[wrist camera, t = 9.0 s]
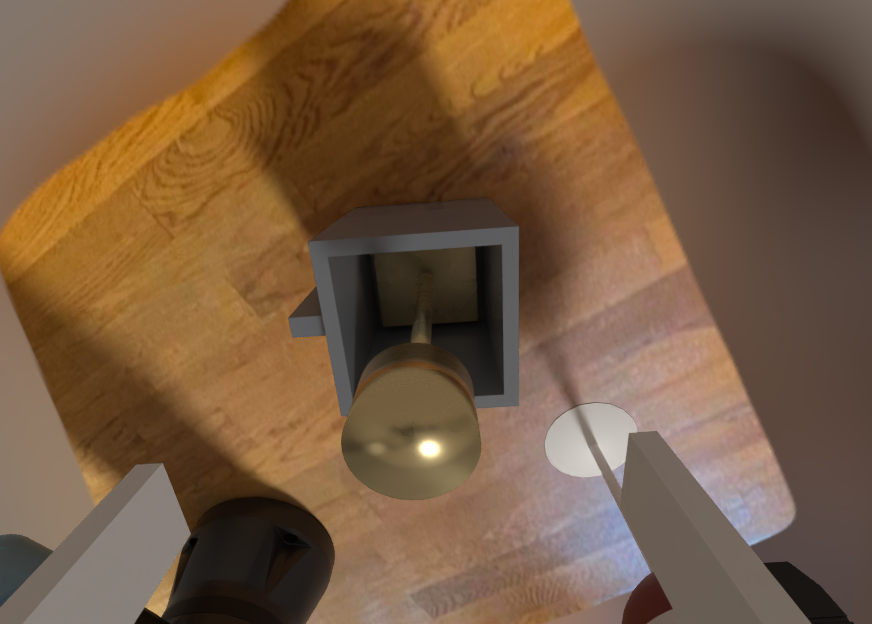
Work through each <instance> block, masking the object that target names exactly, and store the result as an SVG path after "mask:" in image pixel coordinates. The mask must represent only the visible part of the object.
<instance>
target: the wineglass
mask: <svg viewBox="0 0 872 624" xmlns="http://www.w3.org/2000/svg"><path fill="white" fill-rule="evenodd" d="M635 432H637V427H636V425H635V423H634V421H633V419H632V417H631V416H629V415H628V414H627V413H626V412H625V411H624V410H623V409H621V408H618V407H616V406H614V405H611V404H604V403H591V404H584V405H580V406H577V407H575V408H573V409H570V410H568V411H566V412H565V413H564V414H562V415H561V416H560V417H559V418H557V419H556V420H555V421H554V423H553V424H552V426H551V427H550V429H549V430H548V432H547V436H546V439H545V451H546V455H547V457H548V459H549V460H550V462H551V464H552V465H553V466H555V467H556V468H557V469H558V470H560V471H561V472H563V473H566V474H569V475H571V476H577V477H593V476H600V475H603V477H604V479H605V481H606V483H607V485H608V487H609V489H610V491H611V493H612V495H613V497H614V499H615V501H616V503H617V505H618V507H619V509H620V503H621V494H622V489H621V487H620V485H619V483H618V481H617V479H616V478H615V476H614V474H613V472H612V471H613V470H614V469H616V468H617V467H619V466H620V465H621V464H623V463H624V462H625V461H626V452H627V444H628V436H629V433H635ZM620 511H621V509H620ZM621 513H622V511H621ZM622 515H623V513H622ZM623 517H624V515H623ZM624 519H625V517H624ZM625 521H626V519H625ZM626 523H627V521H626ZM627 525H628V527H629V529H630V531H631V533H632V535H633V537H634V539H635V541H636V543H637V545H638V547H639V549H640V551H641V553H642V555H643V557H644V559H645V561H646V563H647V565H648V567H649V569H650V571H651V572H652V573H650V574H649V575H648V576H646V577H645V578H644V579H643V580H642V581H641V582H640V583H639V584H638V585H637V587H636V588H635V589H634V591H633V592H632V594H631V596H630V598H629V600H628V602H627V604H626V606H625V609H624V613H623V620H622V624H681V623H680V621H679V619H678V617H677V616H676V614H675V612H674V610H673V608H672V606H671V604H670V602H669V600H668V598H667V597H666V595H665V593H664V591H663V589H662V587H661V585H660V583H659V581H658V579H657V578H656V576H655V574H654V572H653V570H652V568H651V566H650V564H649V562H648V561H647V559H646V557H645V555H644V553H643V551H642V549H641V547H640V545H639V543H638V542H637V540H636V538H635V536H634V534H633V532H632V530H631V528H630V526H629V524H628V523H627Z"/></svg>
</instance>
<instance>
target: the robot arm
mask: <svg viewBox="0 0 872 624" xmlns="http://www.w3.org/2000/svg"><path fill="white" fill-rule="evenodd" d="M620 509H621V511H622V513H623V515H624V517H625V519H626V521H627V523H628V524H629V526H630V528H631V530H632V532H633V534H634V536H635V538H636V540H637V542H638V543H639V545H640V547H641V549H642V551H643V553H644V555H645V557H646V559H647V561H648V562H649V564H650V566H651V568H652V570H653V572H654V574H655V576H656V578H657V579H658V581H659V583H660V585H661V587H662V589H663V591H664V593H665V595H666V597H667V598H668V600H669V602H670V604H671V606H672V608H673V610H674V612H675V614H676V616H677V617H678V619H679V621H680V623H681V624H854V623H853V622H850V621H849V620H848V619H847V615H846V614H845V613H844V612H843V611H842V610H841V609H840V607H838V605H837V604H836V603H835V602H834V601H833V600H832V598H831V597H830V596H829V595H828V594H827V593H826V592H825V591H824V590H823V588H822V587H821V586H820V585H818V584H817V583H816V582H814V581H813V580H812V579H810V578H809V577H808V576H806V575H805V574H804V573H802V572H801V571H800V570H798V569H797V568H796V567H794V566H793V565H792V564H790V563H789V562H772V563H762V561H761V560H760V559H759V558H758V556H757V555H756V554H755V553H754V551H753V550H752V549H751V548H750V546H749V545H748V544H747V543H746V541H745V540H744V539H743V538H742V537H741V535H740V534H739V533H738V532H737V530H736V529H735V528H734V527H733V525H732V524H731V523H730V522H729V520H728V519H727V518H726V517H725V515H724V514H723V513H722V512H721V510H720V509H719V508H718V507H717V505H716V504H715V503H714V502H713V500H712V499H711V498H710V497H709V495H708V494H707V493H706V492H705V491H704V489H703V488H702V487H701V486H700V484H699V483H698V482H697V481H696V479H695V478H694V477H693V476H692V474H691V473H690V472H689V471H688V469H687V468H686V467H685V466H684V464H683V463H682V462H681V461H680V459H679V458H678V457H677V456H676V454H675V453H674V452H673V451H672V449H671V448H670V447H669V446H668V445H667V443H666V442H665V441H664V440H663V438H662V437H661V436H660V435H659V433H658V432H657V431H650V432H635V433H629V436H628V444H627V452H626V461H625V469H624V478H623V486H622V494H621V503H620ZM182 547H183V549H182ZM181 549H182V552H181V556H180V560H179V564H178V567H177V571H176V575H175V579H174V583H173V586H172V590H171V594H170V598H169V602H168V606H167V608H166V610H165V612H164V614H163V615H162V617H159V616H158V615H156V614H155V613H153V612H152V611H150V610H148V609H147V608H145V606H146V604H147V603H148V601H149V599H150V598H151V596H152V595H153V593H154V592H155V590H156V588H157V587H158V585H159V584H160V582H161V581H162V579H163V577H164V576H165V574H166V573H167V571H168V570H169V568H170V566H171V565H172V563H173V562H174V560H175V558H176V557H177V555H178V554H179V552H180V551H181ZM334 560H335V551H334V546H333V543H332V541H331V539H330V537H329V535H328V533H327V532H326V530H325V529H324V528H323V527H322V526H321V525H320V524H319V523H318V522H317V521H316V520H315V519H314V518H313V517H311V516H310V515H308V514H307V513H305V512H304V511H302V510H300V509H298V508H296V507H294V506H292V505H289V504H286V503H283V502H280V501H276V500H271V499H265V498H240V499H234V500H230V501H226V502H223V503H221V504H218V505H216V506H214V507H213V508H211V509H209V510H208V511H207V512H206V513H205V514H203V515H202V517H201V518H200V519H199V520H198V522H197V523H196V525H195V527H194V528H193V530H192V531H191V533H190V530H189V528H188V525H187V523H186V520H185V518H184V515H183V513H182V510H181V508H180V505H179V503H178V500H177V498H176V495H175V493H174V490H173V488H172V485H171V483H170V480H169V478H168V475H167V473H166V470H165V468H164V465H163V463H154V464H138V465H135V466H134V467H133V468H132V469H131V471H130V472H129V473H128V474H127V475H126V476H125V477H124V478H123V479H122V480H121V481H120V482H119V483H118V484H117V485H116V486H115V487H114V488H113V489H112V491H111V492H110V493H109V494H108V495H107V496H106V497H105V498H104V499H103V500H102V501H101V502H100V503H99V504H98V505H97V506H96V507H95V508H94V509H93V511H92V512H91V513H90V514H89V515H88V516H87V517H86V518H85V519H84V520H83V521H82V522H81V523H80V524H79V525H78V526H77V527H76V528H75V529H74V530H73V532H72V533H71V534H70V535H69V536H68V537H67V538H66V539H65V540H64V541H63V542H62V543H61V544H60V545H59V546H58V547H57V548H56V549H55V550H54V551H52V550H50V549H48V548H46V547H45V546H43V545H41V544H39V543H37V542H35V541H33V540H31V539H30V538H28V537H25V536H22V535H17V534H6V535H1V536H0V624H306V622H307V621H308V619H309V617H310V616H311V614H312V613H313V611H314V609H315V608H316V606H317V604H318V603H319V601H320V599H321V598H322V596H323V594H324V593H325V591H326V589H327V586H328V584H329V581H330V577H331V573H332V569H333V565H334Z"/></svg>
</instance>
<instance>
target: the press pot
mask: <svg viewBox="0 0 872 624" xmlns="http://www.w3.org/2000/svg"><path fill="white" fill-rule="evenodd" d="M308 244H309V249H310V255H311V260H312V265H313V270H314V276H315V281H316V287H315V288H314V289H313V290H312V292H311V293H310V294H309V295H308V296H307V297H306V298H305V299H304V301H303V302H302V303H301V304H300V305H299V306H298V307H297V309H296V310H295V311H294V312H293V313H292V314H291V315H290V316H289V318H288V319H289V324H290V328H291V333H292V337H293V338H294V337H309V336H324V335H326V338H327V343H328V349H329V354H330V359H331V364H332V370H333V375H334V380H335V385H336V391H337V396H338V401H339V406H340V411H341V416H348V413H349V411H350V408H351V405H352V402H353V399H354V396H355V393H356V390H357V387H358V384H359V381H360V378H361V375H362V373H363V371H364V369H365V367H366V366H367V365H368V363H369V362H370V361H371V360H372V359H373V358H374V357H375V356H376V355H378V354H379V353H380V352H382V351H384V350H386V349H387V348H390V347H392V346H395V345H399V344H403V343H410V341H411V334H412V327H413V325H405V326H390V327H383V323H382V315H381V308H380V300H379V293H378V285H377V278H376V270H375V262H374V255H373V254H375V253H389V252H403V251H417V250H431V249H445V248H459V247H474V246H475V258H476V284H477V310H478V321H466V322H451V323H436V324H432V328H431V345H435V346H437V347H440V348H442V349H444V350H446V351H448V352H450V353H451V354H453V355H454V356H455V357H456V358H458V359H459V360H460V361H461V363H462V364H463V365H464V366H465V368H466V369H467V371H468V373H469V375H470V377H471V380H472V384H473V390H474V397H475V404H476V408H492V407H509V406H519V226H518V225H517V224H516V223H515V222H514V221H513V220H512V219H511V218H510V217H509V216H508V215H507V214H506V213H505V212H504V211H503V210H502V209H500V208H499V207H498V206H497V205H496V204H495V203H494V202H493V201H492V200H491V199H490V198H477V199H464V200H450V201H437V202H424V203H410V204H397V205H384V206H370V207H357V208H354V209H353V210H351V211H350V212H349V213H347V214H346V215H344V216H343V217H342V218H340V219H339V220H337V221H336V222H335V223H333V224H332V225H331V226H329V227H328V228H326V229H325V230H324V231H322V232H321V233H319V234H318V235H317V236H315V237H314V238H312V239H311V240H310V241H308Z"/></svg>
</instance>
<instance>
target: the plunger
mask: <svg viewBox="0 0 872 624" xmlns="http://www.w3.org/2000/svg"><path fill="white" fill-rule="evenodd" d="M373 255H374V262H375V270H376V278H377V285H378V293H379V300H380V308H381V315H382V323H383V327H390V326H405V325H413V327H412V334H411V341H410V343H403V344H399V345H395V346H392V347H390V348H387V349H386V350H384V351H382V352H380V353H379V354H378V355H376V356H375V357H374V358H373V359H372V360H371V361H370V362H369V363H368V365H367V366H366V367H365V369H364V371H363V373H362V375H361V378H360V381H359V384H358V387H357V390H356V393H355V396H354V399H353V402H352V405H351V408H350V411H349V413H348V416H347V419H346V422H345V425H344V428H343V433H342V440H341V445H342V452H343V456H344V459H345V461H346V463H347V466H348V467H349V469H350V470H351V472H352V473H353V474H354V475H355V477H356V478H357V479H358V480H360V481H361V482H362V483H363V484H364V485H366V486H367V487H369V488H370V489H372V490H374V491H376V492H378V493H380V494H383V495H385V496H389V497H392V498H397V499H403V500H423V499H429V498H434V497H437V496H441V495H443V494H446V493H448V492H450V491H452V490H453V489H455V488H457V487H458V486H459V485H461V484H462V483H463V482H464V481H465V480H466V479H467V478H468V477H469V476H470V475H471V473H472V472H473V471H474V469H475V467H476V465H477V463H478V460H479V457H480V453H481V438H480V431H479V424H478V417H477V410H476V404H475V397H474V390H473V384H472V380H471V377H470V375H469V373H468V371H467V369H466V368H465V366H464V365H463V364H462V363H461V361H460V360H459V359H458V358H456V357H455V356H454V355H453V354H451V353H450V352H448V351H446V350H444V349H442V348H440V347H437V346H435V345H431V328H432V324H436V323H451V322H466V321H478V310H477V284H476V258H475V246H474V247H459V248H445V249H431V250H417V251H403V252H389V253H375V254H373Z"/></svg>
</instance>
